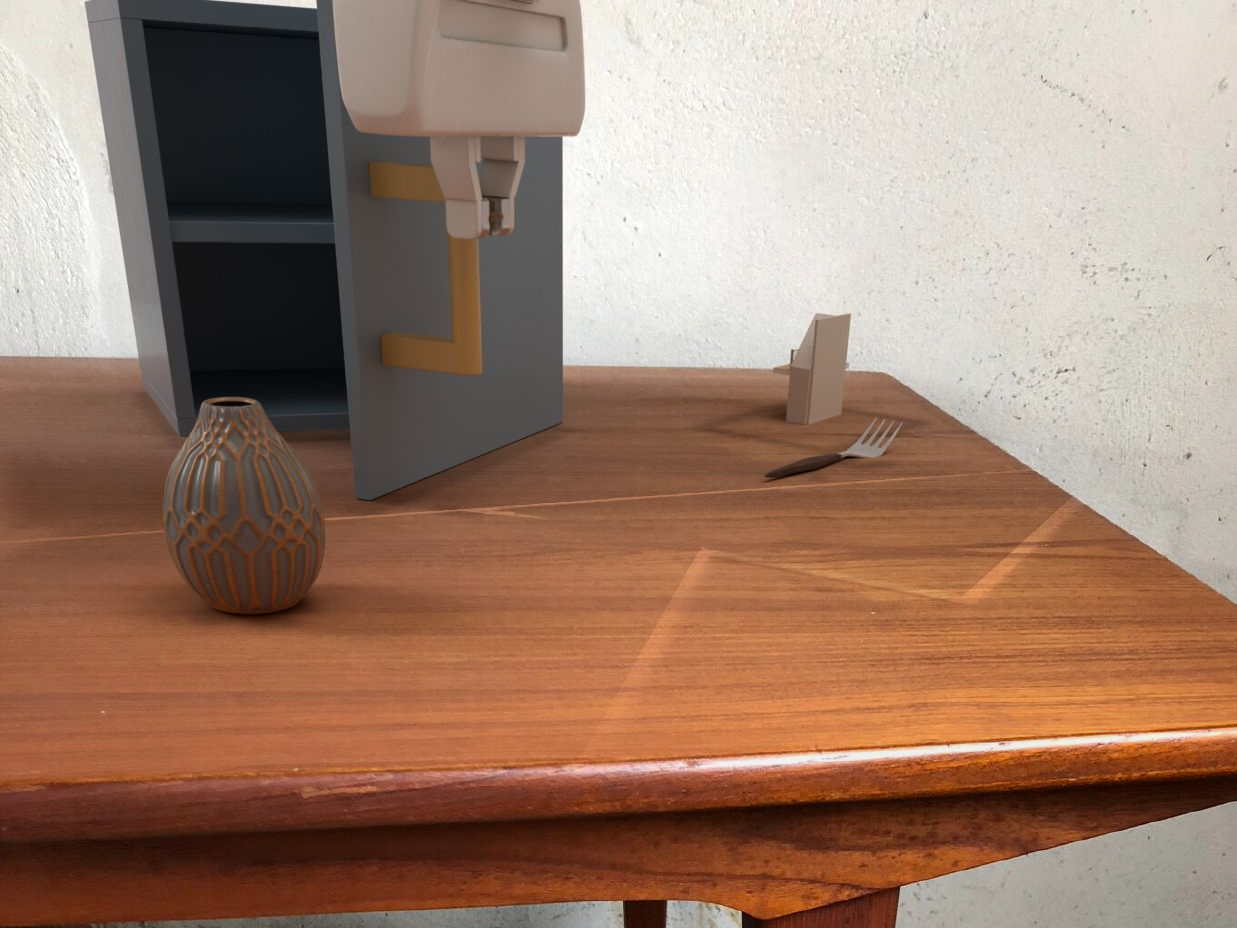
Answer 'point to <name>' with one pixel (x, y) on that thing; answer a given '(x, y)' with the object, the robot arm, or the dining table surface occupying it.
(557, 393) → the cupboard door
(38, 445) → the dining table surface
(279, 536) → the vase
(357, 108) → the robot arm
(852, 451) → the fork
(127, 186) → the cupboard
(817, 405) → the architectural model
